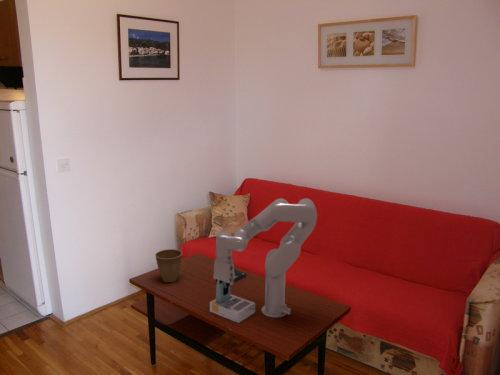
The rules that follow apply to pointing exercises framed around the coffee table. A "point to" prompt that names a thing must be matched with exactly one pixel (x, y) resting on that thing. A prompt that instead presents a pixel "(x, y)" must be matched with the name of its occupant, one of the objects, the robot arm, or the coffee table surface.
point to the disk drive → (238, 275)
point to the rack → (233, 308)
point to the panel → (221, 293)
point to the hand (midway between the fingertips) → (223, 293)
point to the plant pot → (169, 264)
